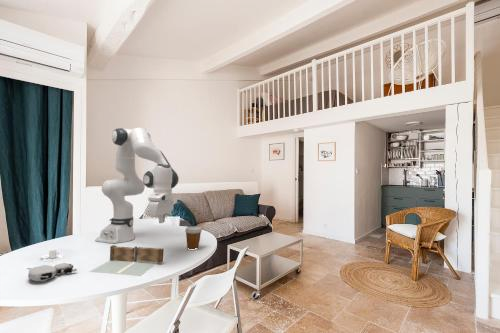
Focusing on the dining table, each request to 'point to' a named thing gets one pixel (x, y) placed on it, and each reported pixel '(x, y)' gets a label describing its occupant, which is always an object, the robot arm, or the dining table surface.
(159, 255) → the hinged fence panel
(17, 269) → the dining table surface
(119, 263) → the card
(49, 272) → the robot toy
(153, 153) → the robot arm
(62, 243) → the dining table surface
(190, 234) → the disposable coffee cup
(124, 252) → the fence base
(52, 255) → the teacup and saucer
